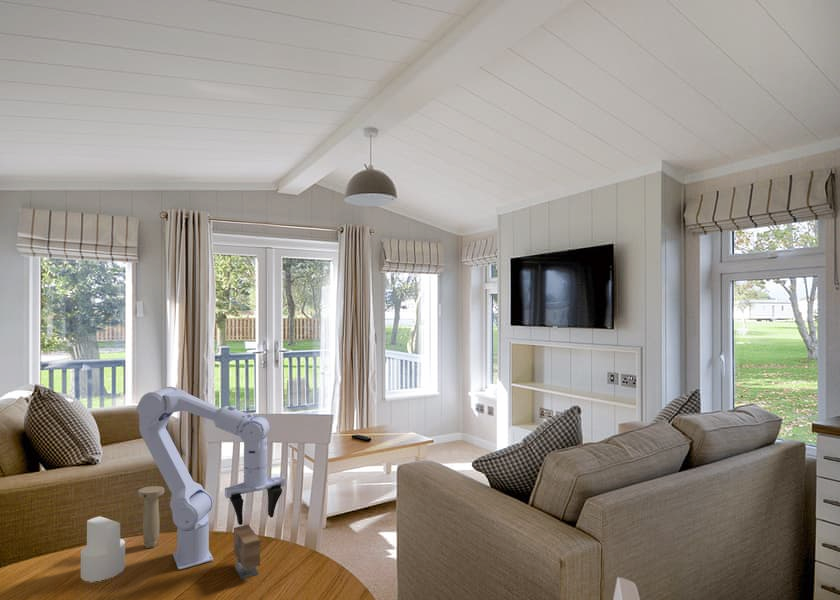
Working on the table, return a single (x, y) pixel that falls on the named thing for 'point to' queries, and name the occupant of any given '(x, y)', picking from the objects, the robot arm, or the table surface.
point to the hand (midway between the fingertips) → (255, 519)
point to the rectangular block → (246, 547)
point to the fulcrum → (245, 571)
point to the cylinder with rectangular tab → (102, 550)
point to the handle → (151, 514)
